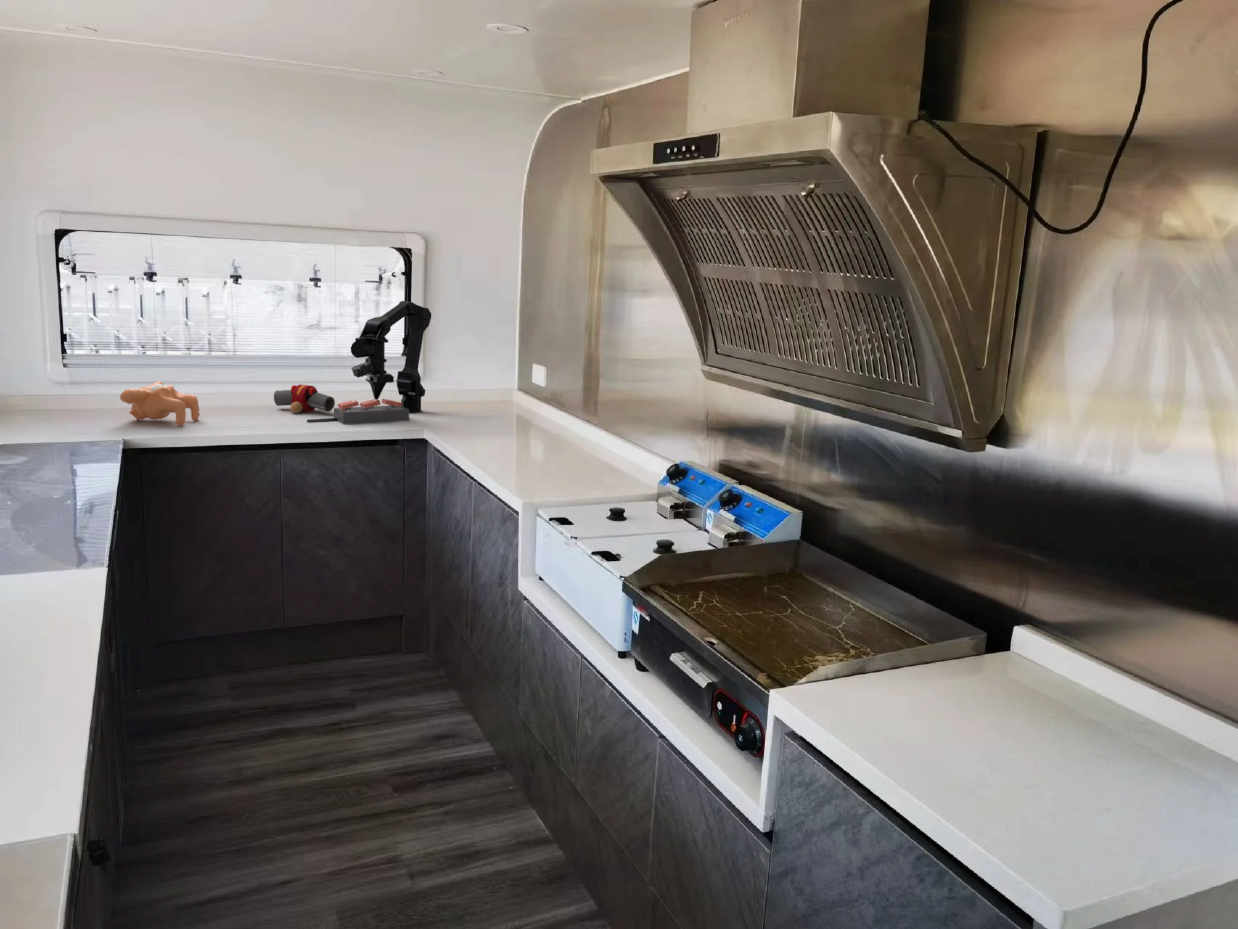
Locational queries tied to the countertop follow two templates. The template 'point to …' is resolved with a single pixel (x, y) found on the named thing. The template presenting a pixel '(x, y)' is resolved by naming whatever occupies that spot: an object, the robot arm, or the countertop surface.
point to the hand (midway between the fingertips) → (376, 399)
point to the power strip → (368, 415)
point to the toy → (303, 399)
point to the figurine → (160, 402)
